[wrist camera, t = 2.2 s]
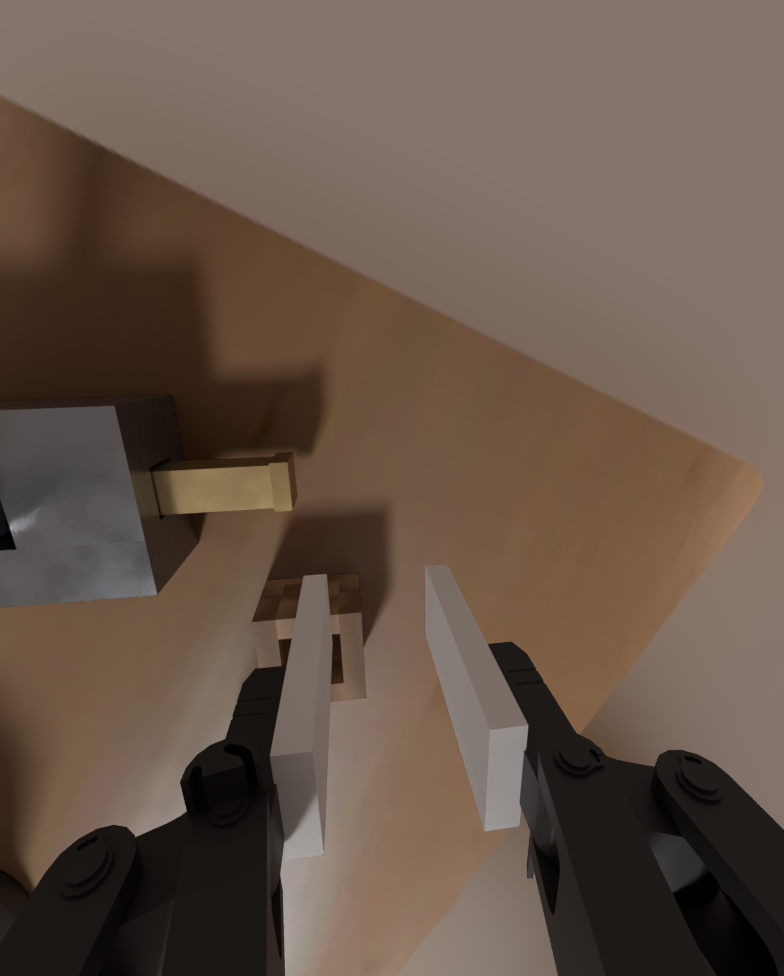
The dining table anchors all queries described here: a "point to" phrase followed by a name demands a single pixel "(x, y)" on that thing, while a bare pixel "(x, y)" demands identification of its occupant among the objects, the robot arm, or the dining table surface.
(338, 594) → the open box
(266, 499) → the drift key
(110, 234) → the dining table surface
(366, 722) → the dining table surface
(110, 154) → the dining table surface
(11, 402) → the socket
